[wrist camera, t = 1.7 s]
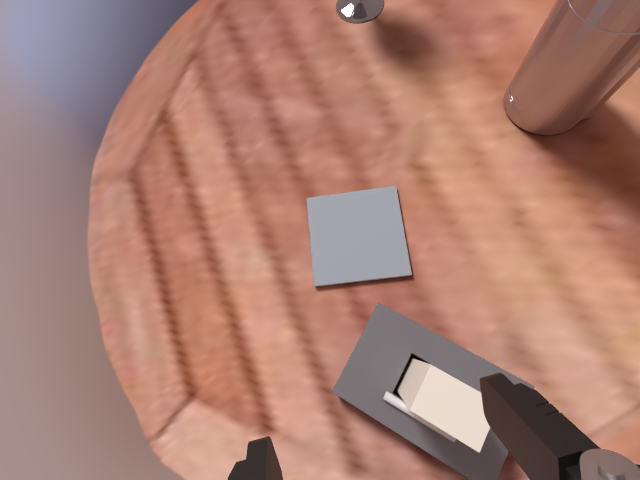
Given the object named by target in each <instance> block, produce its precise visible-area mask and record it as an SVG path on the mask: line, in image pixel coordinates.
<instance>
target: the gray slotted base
mask: <svg viewBox="0 0 640 480" xmlns="http://www.w3.org/2000/svg"><path fill="white" fill-rule="evenodd" d="M411 354H413V355H415V356H416V357H418V358H420V359H422V360H423V361H425V362H427V363H429V364H431V365H433V366H435V367H437V368H438V369H440V370H442V371H444V372H445V373H447V374H449V375H451V376H453V377H454V378H456V379H458V380H460V381H461V382H463V383H465V384H467V385H469V386H470V387H472V388H474V389H476V390H477V391H479V392H481V388H480V378H482V377H485V376H489V375H492V374H496V373H502V374H504V375H505V376H506V377H507V378H508V379H509V380H510V381H511V382H512V383H513V384H514V385H515V384H519V383H522V384H524V385H526V386H528V387H530V388H532V389H534V387H535V386H533V385H531V384H529V383H527V382H525V381H524V380H522V379H520V378H518V377H516V376H514V375H512V374H511V373H509V372H507V371H505V370H503V369H501V368H499V367H498V366H496V365H494V364H492V363H490V362H488V361H486V360H485V359H483V358H481V357H479V356H477V355H475V354H473V353H472V352H470V351H468V350H466V349H464V348H462V347H460V346H459V345H457V344H455V343H453V342H451V341H449V340H447V339H446V338H444V337H442V336H440V335H438V334H436V333H434V332H432V331H431V330H429V329H427V328H425V327H423V326H421V325H419V324H418V323H416V322H414V321H412V320H410V319H408V318H406V317H405V316H403V315H401V314H399V313H397V312H395V311H393V310H392V309H390V308H388V307H386V306H384V305H382V304H380V303H379V302H378V304H377V306H376V308H375V310H374V312H373V314H372V316H371V318H370V319H369V321H368V323H367V325H366V327H365V329H364V331H363V333H362V335H361V337H360V339H359V341H358V343H357V345H356V347H355V349H354V350H353V352H352V354H351V356H350V358H349V360H348V362H347V364H346V366H345V368H344V370H343V372H342V374H341V376H340V378H339V379H338V381H337V383H336V385H335V387H334V389H333V391H332V392H333V393H335V394H336V395H338V396H339V397H341V398H342V399H344V400H346V401H347V402H349V403H350V404H352V405H354V406H355V407H357V408H358V409H360V410H361V411H363V412H365V413H366V414H368V415H369V416H371V417H372V418H374V419H376V420H377V421H379V422H380V423H382V424H383V425H385V426H387V427H388V428H390V429H391V430H393V431H394V432H396V433H398V434H399V435H401V436H402V437H404V438H405V439H407V440H409V441H410V442H412V443H413V444H415V445H416V446H418V447H420V448H421V449H423V450H424V451H426V452H427V453H429V454H431V455H432V456H434V457H435V458H437V459H439V460H440V461H442V462H443V463H445V464H446V465H448V466H450V467H451V468H453V469H454V470H456V471H457V472H459V473H461V474H462V475H464V476H465V477H467V478H468V479H470V480H498V478H499V475H500V472H501V470H502V467H503V465H504V462H505V460H506V457H507V455H508V452H509V451H508V450H507V449H506V448H505V446H504V445H503V444H502V442H501V441H500V440H499V439H498V437H497V436H496V435H495V433H494V432H493V431H492V429H491V428H490V429H489V431H488V434H487V436H486V438H485V441H484V443H483V446H482V448H481V451H480V453H479V452H477V451H476V450H474V449H472V448H471V447H469V446H467V445H466V444H464V443H463V442H461V441H459V440H458V439H456V438H454V437H453V436H451V435H449V434H448V433H446V432H445V431H443V430H441V429H440V428H438V427H436V426H435V425H433V424H431V423H430V422H428V421H426V420H425V419H423V418H422V417H420V416H418V415H417V414H415V413H413V412H412V411H410V410H409V408H408V407H407V405H406V404H405V402H404V401H403V399H402V398H401V396H399V395H398V394H396V393H394V392H393V391H394V389H395V387H396V385H397V383H398V380H399V378H400V376H401V374H402V372H403V370H404V368H405V366H406V364H407V362H408V360H409V358H410V355H411Z"/></svg>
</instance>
